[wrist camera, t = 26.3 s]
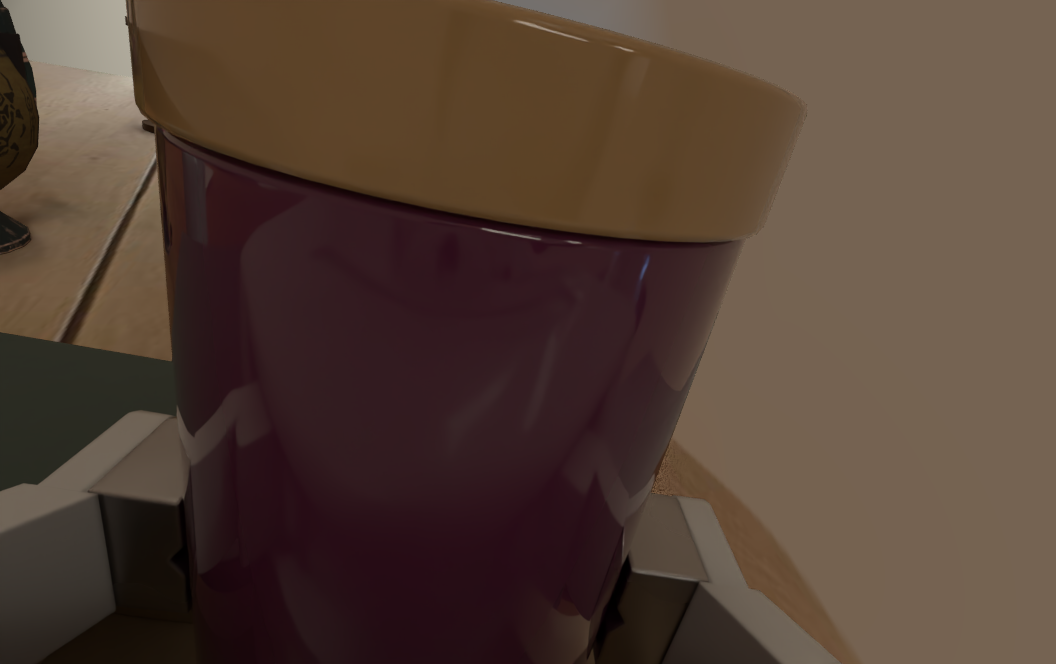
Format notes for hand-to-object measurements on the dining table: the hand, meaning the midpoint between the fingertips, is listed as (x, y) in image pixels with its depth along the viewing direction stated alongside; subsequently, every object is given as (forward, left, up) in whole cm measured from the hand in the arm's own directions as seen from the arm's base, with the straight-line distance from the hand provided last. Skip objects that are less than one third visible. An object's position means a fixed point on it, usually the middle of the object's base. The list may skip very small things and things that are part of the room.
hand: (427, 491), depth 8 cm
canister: (0, +1, -7) cm, 7 cm away
